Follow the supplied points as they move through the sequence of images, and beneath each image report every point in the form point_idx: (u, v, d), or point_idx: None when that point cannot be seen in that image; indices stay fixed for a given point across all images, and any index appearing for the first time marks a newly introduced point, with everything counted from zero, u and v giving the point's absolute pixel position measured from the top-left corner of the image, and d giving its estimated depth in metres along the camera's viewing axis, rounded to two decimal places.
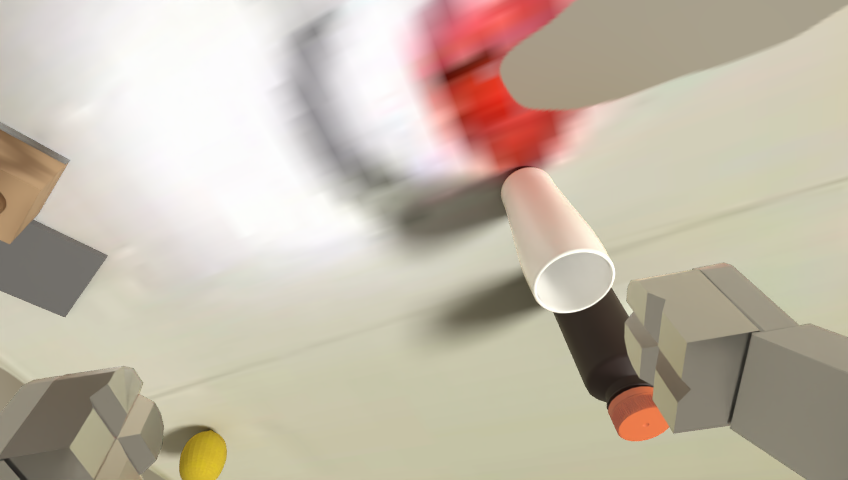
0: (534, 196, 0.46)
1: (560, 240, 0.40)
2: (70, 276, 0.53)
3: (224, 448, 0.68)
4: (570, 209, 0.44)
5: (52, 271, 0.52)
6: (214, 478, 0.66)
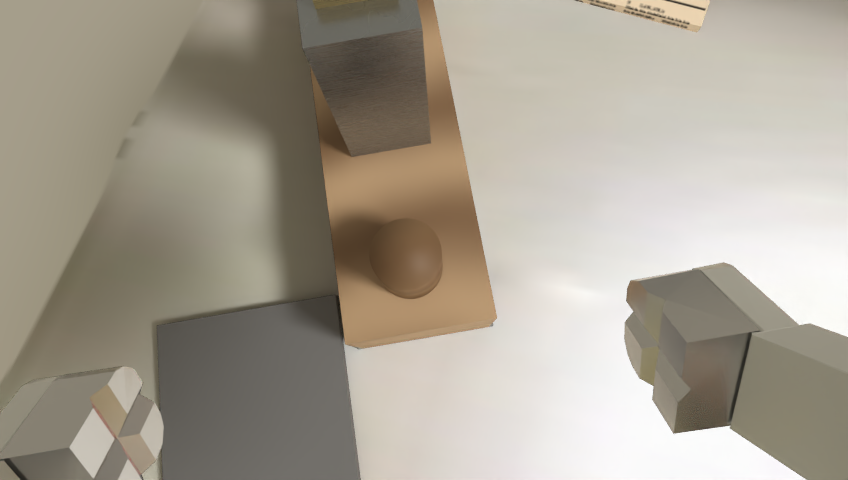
0: None
1: None
2: (275, 466, 0.27)
3: None
4: None
5: (265, 435, 0.27)
6: None
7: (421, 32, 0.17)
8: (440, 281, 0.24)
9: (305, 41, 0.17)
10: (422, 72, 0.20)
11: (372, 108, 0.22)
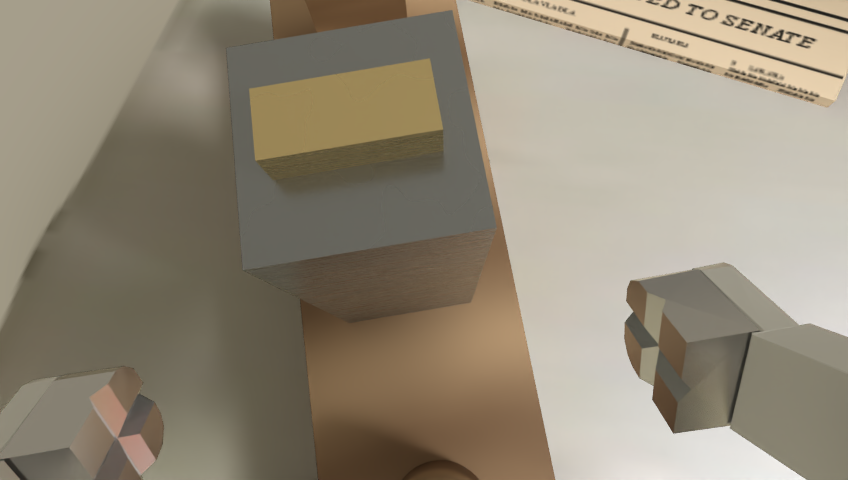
0: None
1: None
2: None
3: None
4: None
5: None
6: None
7: (492, 232, 0.08)
8: None
9: (249, 254, 0.08)
10: (478, 263, 0.11)
11: (384, 295, 0.12)
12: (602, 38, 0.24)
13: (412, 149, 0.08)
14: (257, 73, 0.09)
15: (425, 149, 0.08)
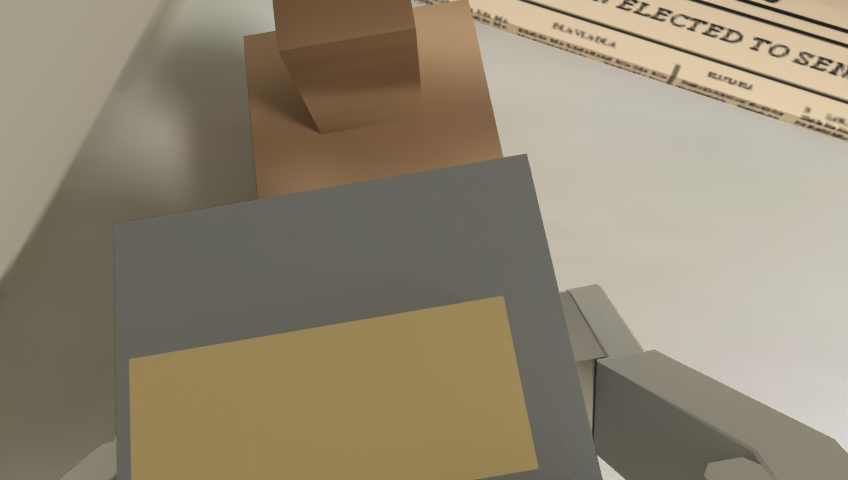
0: None
1: None
2: None
3: None
4: None
5: None
6: None
7: None
8: None
9: None
10: None
11: None
12: (647, 75, 0.21)
13: None
14: (168, 277, 0.05)
15: None
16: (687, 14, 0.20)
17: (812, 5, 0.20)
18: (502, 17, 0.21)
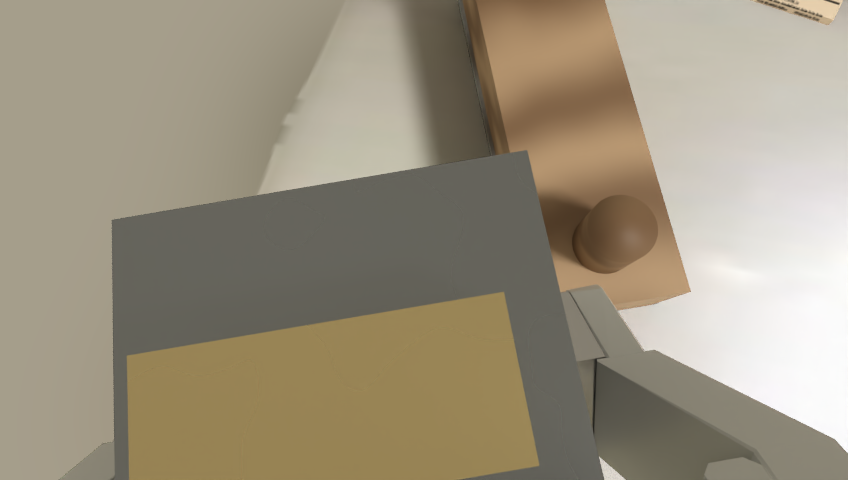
0: None
1: None
2: None
3: None
4: None
5: None
6: None
7: None
8: None
9: None
10: None
11: None
12: None
13: None
14: (167, 274, 0.05)
15: None
16: None
17: None
18: None
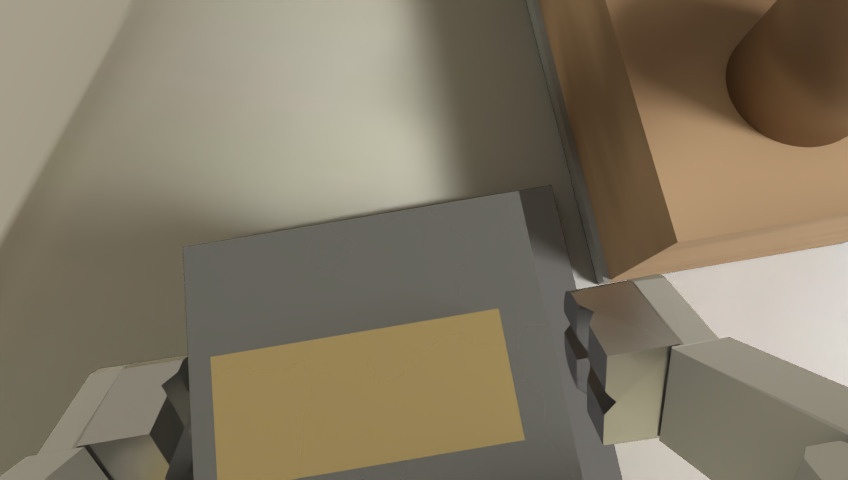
0: None
1: None
2: None
3: None
4: None
5: None
6: None
7: None
8: None
9: None
10: None
11: None
12: None
13: None
14: (229, 291, 0.06)
15: None
16: None
17: None
18: None
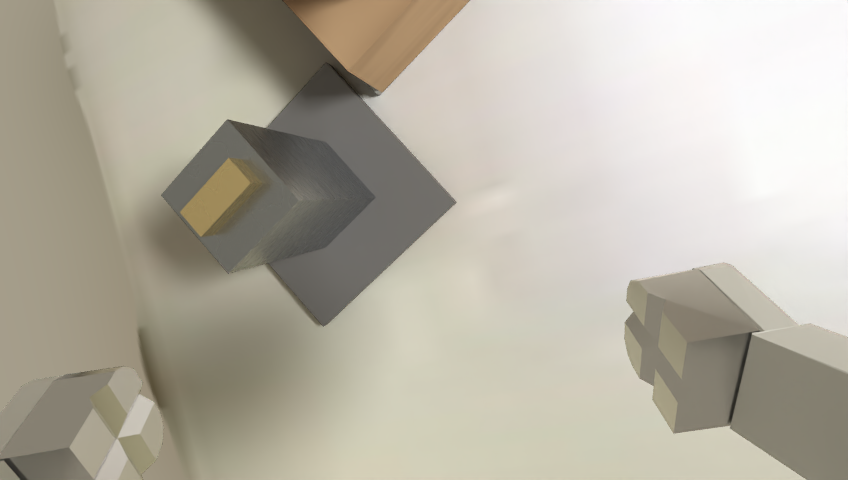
0: None
1: None
2: (376, 232, 0.27)
3: None
4: None
5: None
6: None
7: (300, 201, 0.19)
8: None
9: (226, 266, 0.19)
10: (325, 201, 0.21)
11: (311, 233, 0.23)
12: None
13: (249, 192, 0.19)
14: (179, 198, 0.20)
15: (254, 188, 0.19)
16: None
17: None
18: None
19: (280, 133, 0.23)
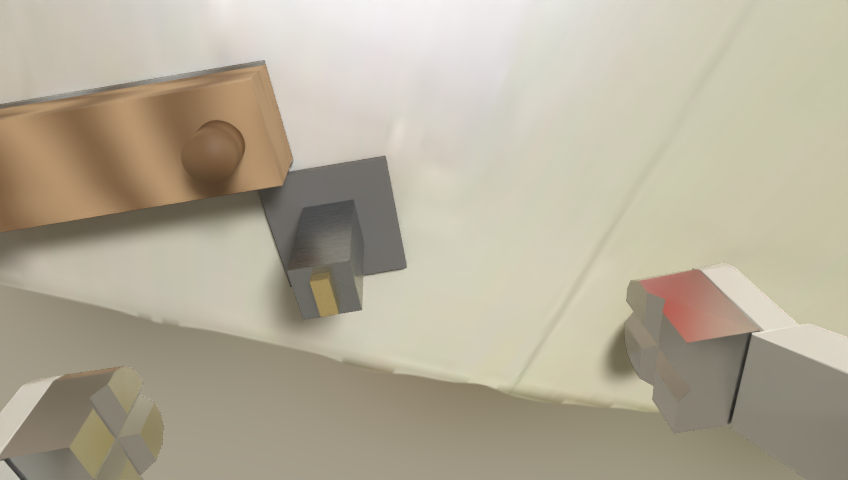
0: None
1: None
2: (373, 210, 0.41)
3: None
4: None
5: None
6: None
7: (349, 259, 0.33)
8: (228, 121, 0.32)
9: (358, 309, 0.35)
10: (351, 241, 0.35)
11: (358, 253, 0.38)
12: None
13: (331, 280, 0.33)
14: (310, 312, 0.35)
15: (330, 277, 0.33)
16: None
17: None
18: None
19: (296, 240, 0.36)
